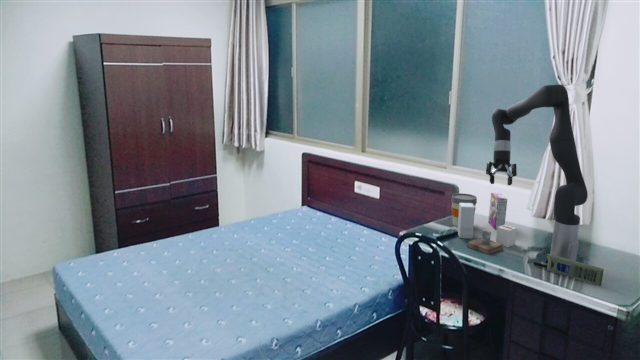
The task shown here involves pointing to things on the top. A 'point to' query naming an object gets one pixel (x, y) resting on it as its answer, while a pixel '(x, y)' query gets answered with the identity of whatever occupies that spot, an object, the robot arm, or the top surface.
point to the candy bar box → (497, 210)
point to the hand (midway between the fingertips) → (500, 184)
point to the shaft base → (484, 247)
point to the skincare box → (466, 220)
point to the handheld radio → (573, 269)
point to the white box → (506, 235)
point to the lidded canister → (460, 199)
